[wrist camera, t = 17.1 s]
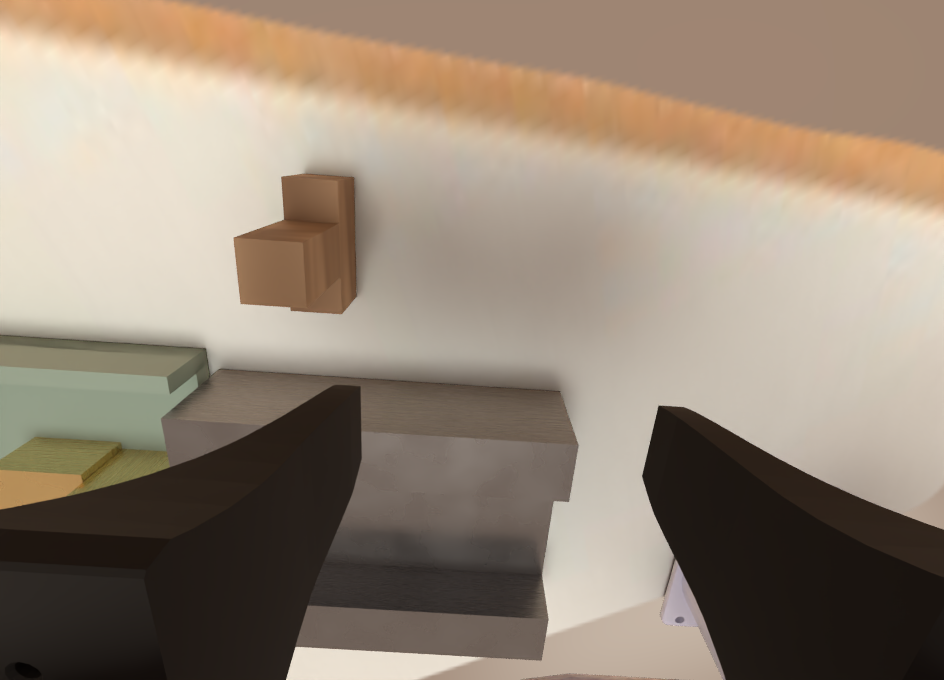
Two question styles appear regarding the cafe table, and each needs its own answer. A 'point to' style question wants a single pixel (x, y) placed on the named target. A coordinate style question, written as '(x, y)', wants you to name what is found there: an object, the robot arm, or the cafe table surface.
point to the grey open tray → (418, 508)
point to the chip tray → (92, 390)
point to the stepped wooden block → (303, 249)
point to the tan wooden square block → (50, 468)
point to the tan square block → (124, 469)
